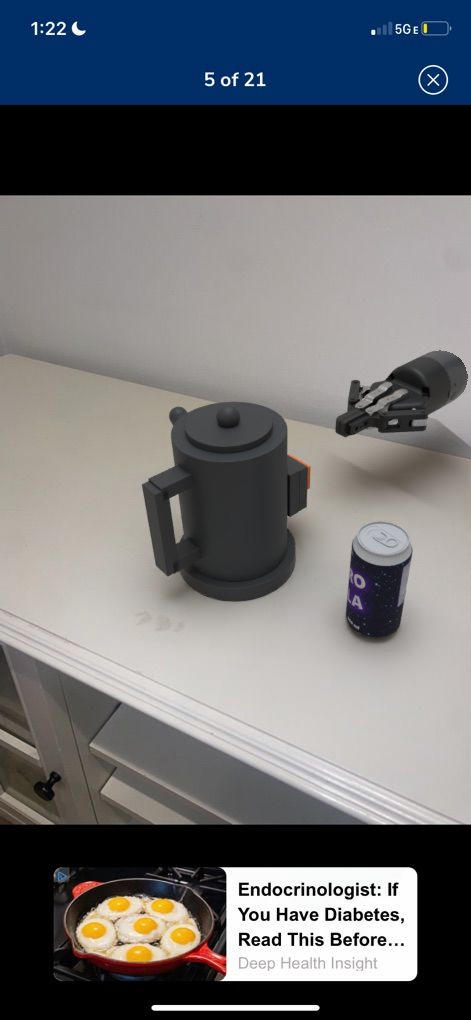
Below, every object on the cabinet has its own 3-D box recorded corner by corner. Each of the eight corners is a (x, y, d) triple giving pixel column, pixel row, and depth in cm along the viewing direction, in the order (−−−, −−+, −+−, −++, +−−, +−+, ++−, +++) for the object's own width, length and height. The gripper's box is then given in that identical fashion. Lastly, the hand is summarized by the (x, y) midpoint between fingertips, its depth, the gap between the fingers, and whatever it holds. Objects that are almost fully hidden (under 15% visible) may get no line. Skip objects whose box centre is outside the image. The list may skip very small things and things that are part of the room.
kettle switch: (289, 475, 77) (289, 454, 75) (310, 488, 75) (310, 466, 73) (281, 480, 76) (281, 458, 74) (301, 493, 74) (302, 470, 72)
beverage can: (366, 595, 69) (376, 510, 62) (410, 621, 66) (426, 535, 58) (334, 623, 66) (340, 538, 59) (378, 652, 63) (391, 566, 55)
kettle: (237, 491, 86) (228, 349, 73) (329, 555, 75) (338, 401, 62) (118, 553, 77) (85, 404, 64) (203, 636, 66) (183, 475, 53)
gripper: (393, 342, 86) (302, 383, 78) (476, 373, 78) (385, 422, 70) (387, 391, 91) (301, 434, 83) (465, 425, 82) (378, 476, 74)
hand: (340, 428), depth 76 cm, fingers closed
